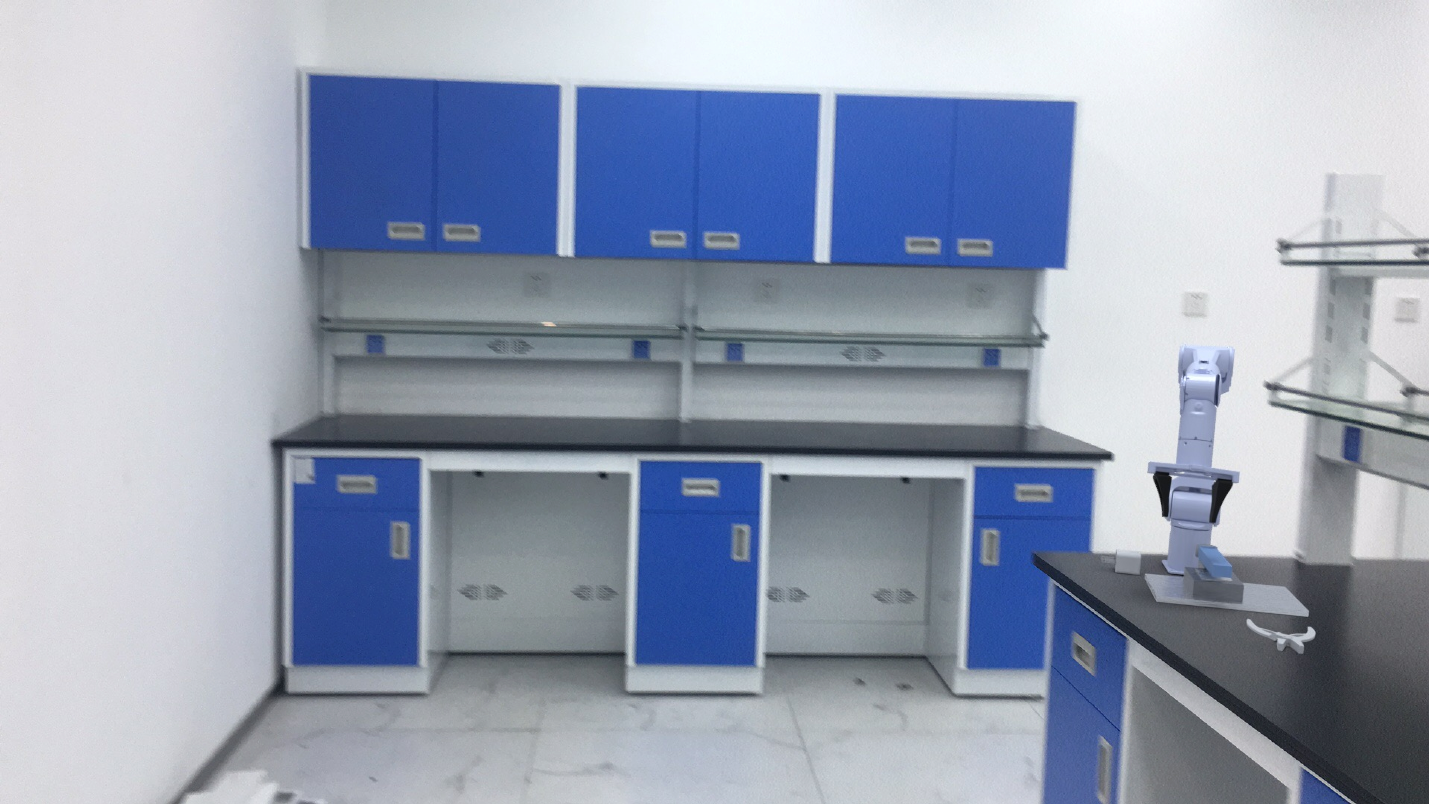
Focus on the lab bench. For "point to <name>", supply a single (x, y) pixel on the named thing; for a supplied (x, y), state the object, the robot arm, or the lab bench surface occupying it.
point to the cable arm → (1213, 560)
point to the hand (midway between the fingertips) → (1188, 519)
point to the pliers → (1284, 637)
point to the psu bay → (1249, 597)
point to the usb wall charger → (1125, 561)
